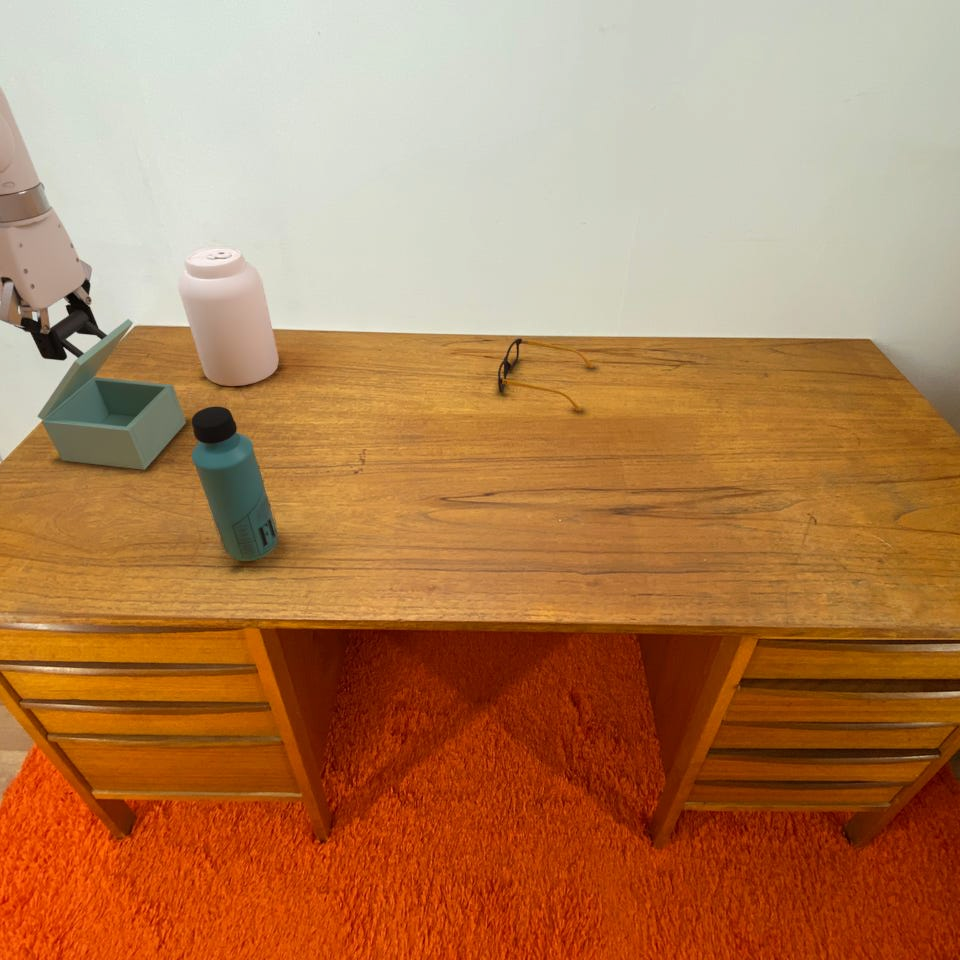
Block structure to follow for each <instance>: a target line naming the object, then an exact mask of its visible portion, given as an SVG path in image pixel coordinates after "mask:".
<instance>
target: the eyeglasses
mask: <svg viewBox="0 0 960 960" xmlns="http://www.w3.org/2000/svg"><path fill="white" fill-rule="evenodd" d="M521 344H522V345H528V346H538V347H543V348H550V349H554V350H555V349H557V350H561V351H569V352H573V353H575V354H577V355H578V356H579V357H580V358H581V359H583V361H584V362H585V364H586V365H587V367H588V368H590V369H593V368H594V366H593V364H592V363H591V362H590V361H589V359H588V358H586V356H585V355H583V353H581V352H580V351H578V350H576V349H573V348H570V347H565V346H560V345H555V344H550V343H545V342H541V341H535V340H531V339H530V340H529V339H523V338H516V339H515V340H513V342H512V343H511V344H510V345H509V347H508V349H507V352H506V355H505V356H504V357H503V360H502V361H501V363H500V365H499V367H498V371H497V383H498V391H499V393H501V394H503V391H504V388H505V385H506V386H513V387H522V388H525V389H526V388H527V389H533V390H539V391H544V392H550V393H556V394H557V395H558V394H559V395H561V396H563V397H564V398H566V399H567V400H568V401H569V402H570V403H571V405H572V406H573V407H574V409H575V410H576V411H578V412H581V410H582V409H581V407H580V406H579V405H578V404H577V403H576V402H575V401H574V400H573V399H572V398H571V397H570V395H568V394H566V393H565V392H562V391H560V390H557V389H553V388H548V387H544V386H538V385H534V384H529V383H526V382H525V383H524V382H520V381H515V380H510V379H507V377H508V374H509V372H512V370H513V368H514V367H515V366H516V363H517V362H518V360H519V356H520V345H521ZM514 345H515V346H516V356H515V359H514V361H513V362H512V364H511V363H510V362H509V356H510V352H511V350H512V349H513V346H514ZM502 368H503V378H502V377H501V373H502Z"/></svg>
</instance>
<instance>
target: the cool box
mask: <svg viewBox="0 0 960 960" xmlns="http://www.w3.org/2000/svg"><path fill="white" fill-rule="evenodd" d="M41 424H42V425H43V428H44V429H45V431H46V433H47V435H48V437H49V439H50V440H51V442H52V444H53V447H54V448H55V450H56V451H57V454H58V455H59V458H60V460H61V461H63V462H72V463H81V464H89V465H90V464H91V465H97V466H107V467H115V468H125V469H134V470H140V471H141V470H143V471H145V470H147V468H148V467H149V466H150V465H151V464H152V463H153V462H154V460H155V459H156V458H157V457H158V455H160V453H161V452H162V451H163V450H164V449H165V447H166V446H167V445H168V444H169V443H170V442H171V440H173V438H174V437H175V436H176V435H177V434H178V433H179V432H180V431H181V429H182V428H183V427H184V426H185V425H186V424H187V421H186V418H185V415H184V412H183V410H182V406H181V403H180V401H179V398H178V395H177V392H176V389H175V386H174V384H169V383H160V382H159V383H158V382H151V381H150V382H149V381H148V382H147V381H139V380H128V379H118V378H107V377H100V376H98V377H97V376H94V377H93V378H92V379H91V380H89V381H88V382H87V383H86V384H85V385H84V386H82V387H81V388H80V389H79V390H78V391H76V392H75V393H74V394H73V395H72V396H71V397H69V398H68V399H67V400H66V401H65V402H63V403H62V404H61V405H60V406H59V407H58V408H56V409H55V410H54V411H53V412H52V413H50V414H49V415H48V416H47V417H46V418H45V419H43V420H42V419H41Z"/></svg>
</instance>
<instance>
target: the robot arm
mask: <svg viewBox="0 0 960 960" xmlns="http://www.w3.org/2000/svg"><path fill="white" fill-rule="evenodd" d="M92 271H93V268H92V266H91V265H90V264H88V263H87V262H86V261H84V260H82V259H80V257H79V255H78V252H77V250H76V248H75V246H74V243H73V241H72V239H71V236H70V235H69V234H68V231H67V230H66V227H65V225H64V224H63V222H62V221H61V219H60V217H59V215H58V214H57V212H56V211H55V210H54V207H53V206H51V205H50V203H49V200H48V197H47V194H46V192H45V186H44V184H43V182H42V181H40V178H39V176H38V174H37V170H36V167H35V165H34V162H33V161H32V158H31V155H30V154H29V151H28V148H27V146H26V143H25V140H24V138H23V135H22V133H21V131H20V128H19V125H18V123H17V121H16V118H15V116H14V112H13V111H12V108H11V106H10V103H9V101H8V99H7V96H6V94H5V92H4V90H3V89H2V87H1V86H0V321H1V322H3V323H6V324H9V325H13V326H14V327H15V328H17V329H21V330H23V332H25V333H30V335H31V337H32V340H33V341H34V344H35V345H36V348H37V350H38V352H39V354H40V357H42V359H45V360H54V361H61V362H62V361H66V359H68V355H67V352H66V349H65V348H64V347H63V345H62V343H61V341H60V339H59V337H58V334H57V332H56V331H55V330H50V328H51V324H50V316H49V310H48V308H49V307H51V306H53V305H54V304H55V303H56V304H57V302H59V301H61V300H62V299H64V301H66V302H67V304H66V305H65V308H66V309H65V311H66V312H67V315H70V314H71V313H73V312H74V311H76V310H82V311H84V312H85V313H86V314H87V315H88V317H89V321H90V322H91V323H92V324H93V325H95V326H96V327H97V328H99V325H98V324H97V321H96V317H95V315H94V312H93V311H92V308H91V304H92V302H93V301H92V297H90V292H91V287H92V286H91V282H90V281H91V277H92ZM33 313H36V320H35V319H34V318H33ZM75 333H76V334H79V335H87V336H96V335H95V334H93V333H92V332H91V331H90V330H88V329H87V328H86V327H84V326H83V327H82V328H80V329H79V330H78V331H76V332H75Z"/></svg>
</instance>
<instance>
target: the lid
mask: <svg viewBox="0 0 960 960" xmlns="http://www.w3.org/2000/svg"><path fill="white" fill-rule="evenodd" d="M133 324H134V322H133V321H132V320H131V319H129V318H127V319H126V320H124V321H123V322H122V323H121V324H120V325H118V326H117V327H116V328H114V329H113V330H112V331H111V332H109V333H108V334H107V333H105V332H104V331H102V330H101V329H100V327H98V328H97V327H96V326H95V325H93V324H92V323H91V322H90V321H89V317H88V315H87V314H86V313H85V312H84V311H82V310H76V311H74V312H73V313H71V314H70V315H69V314H67V316H66V317H64V318H63V319H61V320H59V321H58V322H57V323H55V324H54V325H52V326H50V330H55V331H56V332H57V334H58V337H59V339H60V341H61V343H62V345H63V348H64V350H67V351H68V352H69V353H71V354H72V355H74V356H75V357H76V358H77V359H75V360H74V361H73V363H72V364H71V366H70V367H69V369H68V371H67V372H66V373H65V374H64V376H63V377H62V379H61V381H59V383H58V385H57V386H56V388H55V389H54V391H53V392H52V394H50V396H49V398H48V399H47V401H46V403H45V404H44V405H43V407H42V409H41V410H40V412H39V413H38V414H37V418H39V419H40V420H41V421H42V420H44V419H45V418H46V417H47V416H48V415H49V414H50V413H52V412H53V411H54V410H55V409H56V408H58V407H59V406H60V405H61V404H62V403H63V402H65V401H66V400H67V399H68V398H69V397H71V396H72V395H73V394H74V393H75V392H76V391H78V390H79V389H80V388H81V387H82V386H84V385H85V384H86V383H87V382H88V381H89V380H91V379H92V378H93V377H96V375H97V373H98V372H99V371H100V369H101V368H102V367H103V366H104V364H105V363H106V361H107V360H108V358H109V357H110V356H111V354H112V353H113V352H114V350H115V349H116V348H117V346H118V345H119V343H120V342H121V341H122V339H123V338H124V336H126V334H127V332H128V331H129V330H130V329H131V328H132V326H133ZM83 326H84V327H86V328H87V329H88V330H90V331H91V332H92V333H93V334H95V335H94V336H96V337H97V338H99V339H100V340H99V341H98V342H97V343H95V344H94V345H93V346H92V347H90V348H89V349H88V350H86V351H85V352H83V351H82V350H81V349H79V348H78V347H77V346H75V345H74V344H73V343H71V342H70V341H69V340H67V339H68V338H70V337H71V336H73V335H74V334H75V333H77V332H76V331H78V330H79V329H80V328H82V327H83Z"/></svg>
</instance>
